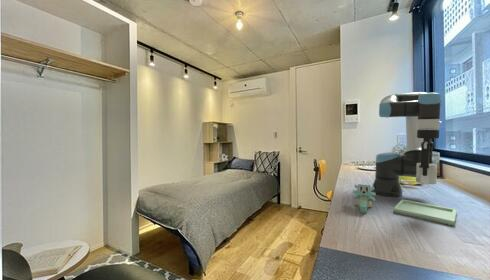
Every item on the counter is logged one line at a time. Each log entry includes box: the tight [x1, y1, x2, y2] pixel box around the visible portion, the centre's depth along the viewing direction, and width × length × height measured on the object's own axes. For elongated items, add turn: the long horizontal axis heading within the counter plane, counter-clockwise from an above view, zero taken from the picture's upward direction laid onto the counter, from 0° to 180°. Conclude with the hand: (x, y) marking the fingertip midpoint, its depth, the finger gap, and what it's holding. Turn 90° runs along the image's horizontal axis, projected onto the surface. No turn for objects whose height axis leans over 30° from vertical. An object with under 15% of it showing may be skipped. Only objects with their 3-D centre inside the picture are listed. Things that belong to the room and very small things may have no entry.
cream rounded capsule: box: [415, 163, 438, 185], centre depth 98 cm, size 7×7×8 cm
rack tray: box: [393, 198, 457, 227], centre depth 100 cm, size 20×17×2 cm
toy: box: [352, 183, 377, 214], centre depth 105 cm, size 10×13×15 cm
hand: (425, 181), depth 99 cm, fingers closed on cream rounded capsule, 7 cm apart
